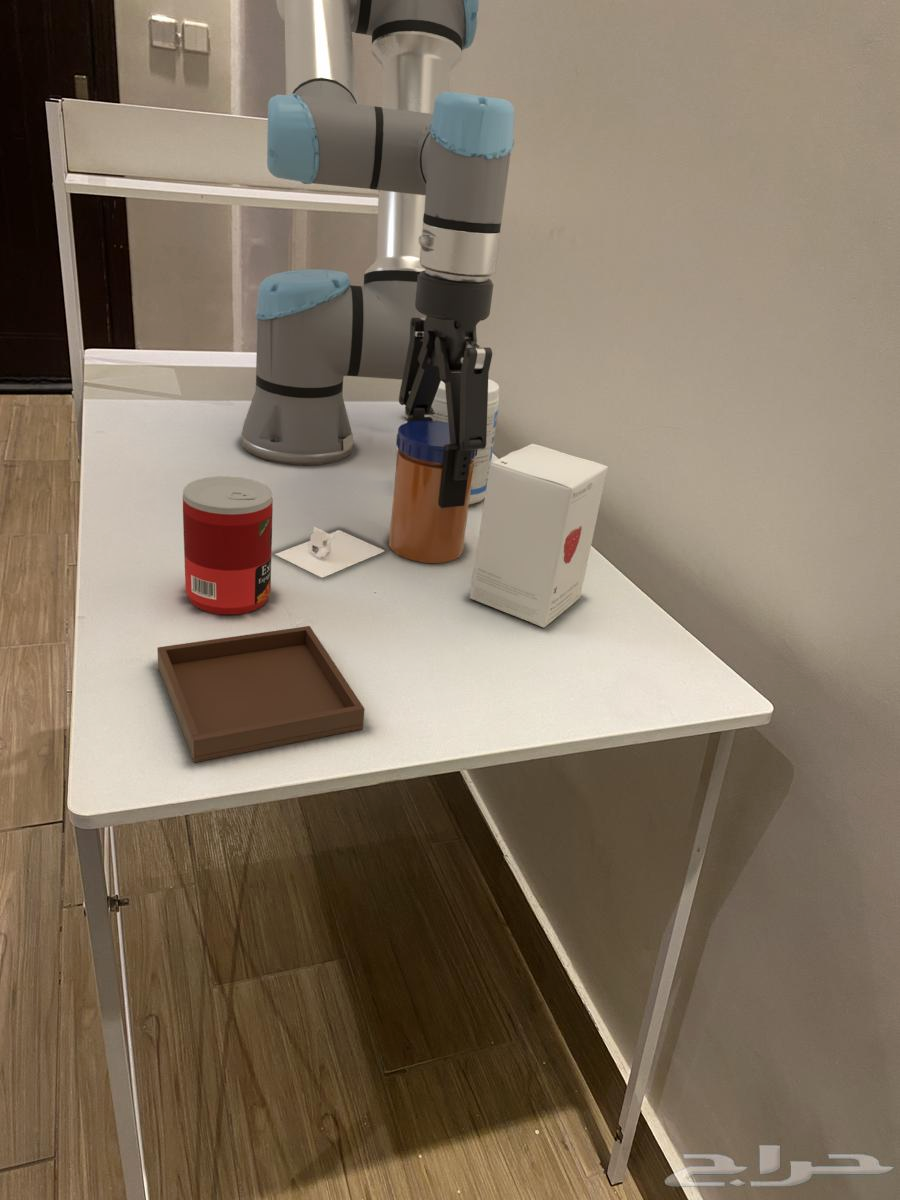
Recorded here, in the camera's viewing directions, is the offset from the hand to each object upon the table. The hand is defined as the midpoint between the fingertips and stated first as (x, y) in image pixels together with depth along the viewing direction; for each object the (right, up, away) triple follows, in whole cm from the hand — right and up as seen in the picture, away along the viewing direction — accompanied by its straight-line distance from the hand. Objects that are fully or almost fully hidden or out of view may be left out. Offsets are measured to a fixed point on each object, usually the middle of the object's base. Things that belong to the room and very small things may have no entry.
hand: (432, 488), depth 100 cm
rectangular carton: (+10, -12, -5) cm, 17 cm away
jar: (-1, -6, +3) cm, 7 cm away
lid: (+1, +5, -3) cm, 6 cm away
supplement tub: (+2, +1, +19) cm, 19 cm away
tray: (-14, -20, -26) cm, 35 cm away
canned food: (-19, -12, -12) cm, 26 cm away
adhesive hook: (-11, -7, -1) cm, 13 cm away
